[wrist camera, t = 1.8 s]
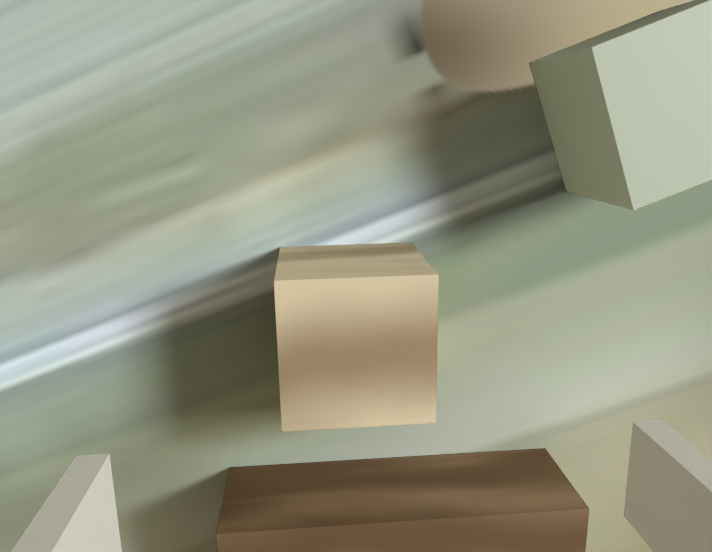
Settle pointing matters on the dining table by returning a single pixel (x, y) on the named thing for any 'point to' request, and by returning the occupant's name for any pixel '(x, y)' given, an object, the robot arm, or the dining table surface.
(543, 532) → the walnut block
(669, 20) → the sage cube
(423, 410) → the maple cube
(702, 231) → the dining table surface
